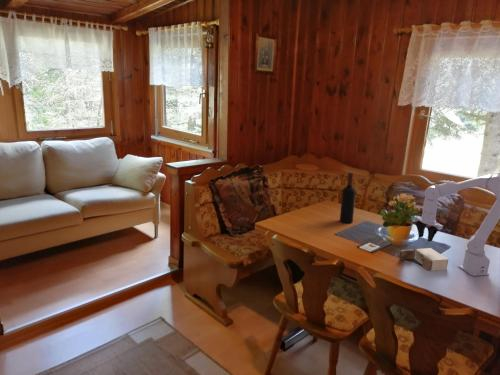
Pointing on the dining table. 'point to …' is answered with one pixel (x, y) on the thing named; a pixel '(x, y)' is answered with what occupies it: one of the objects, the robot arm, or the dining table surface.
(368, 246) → the chocolate bar
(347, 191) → the wine bottle
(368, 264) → the dining table surface
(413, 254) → the door
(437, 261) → the cabinet
